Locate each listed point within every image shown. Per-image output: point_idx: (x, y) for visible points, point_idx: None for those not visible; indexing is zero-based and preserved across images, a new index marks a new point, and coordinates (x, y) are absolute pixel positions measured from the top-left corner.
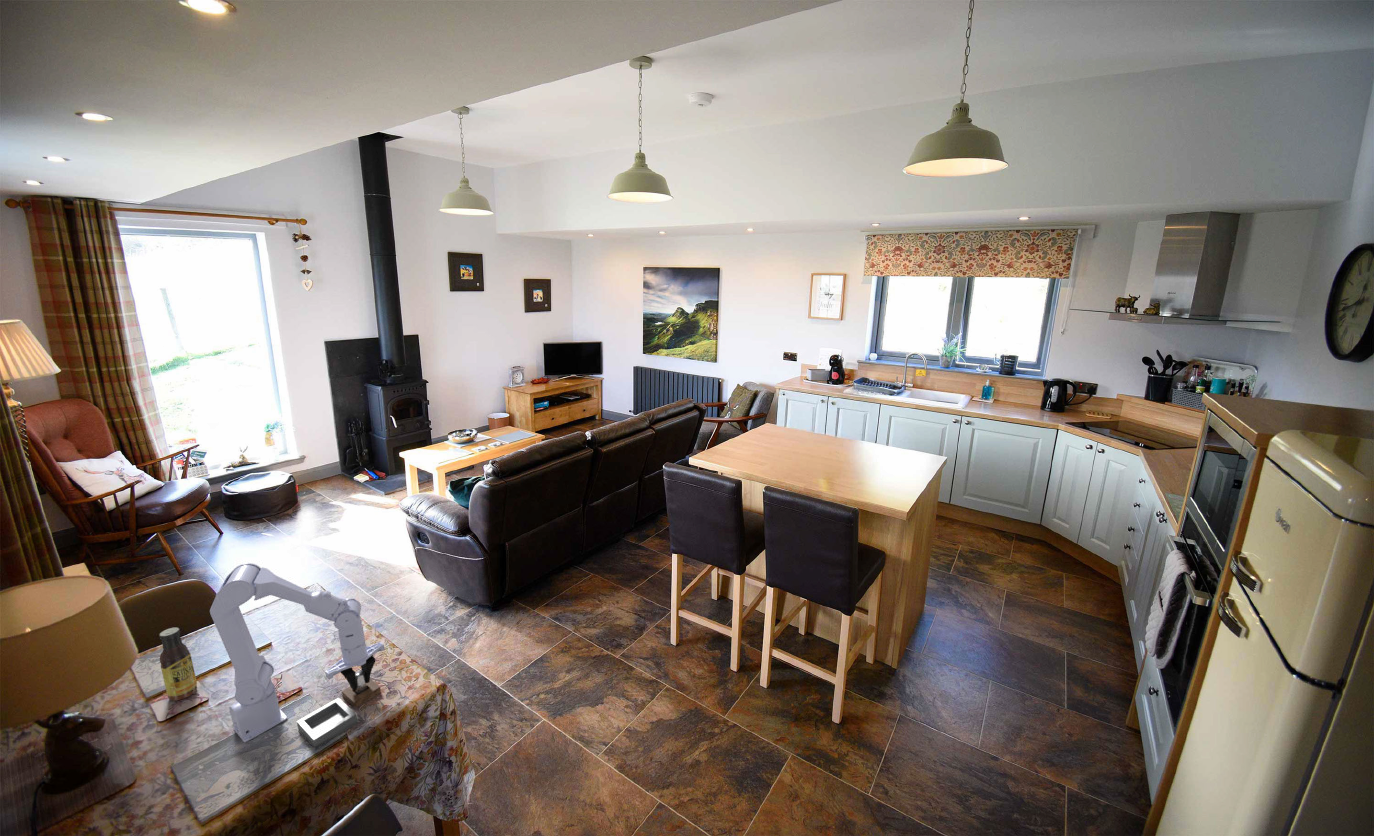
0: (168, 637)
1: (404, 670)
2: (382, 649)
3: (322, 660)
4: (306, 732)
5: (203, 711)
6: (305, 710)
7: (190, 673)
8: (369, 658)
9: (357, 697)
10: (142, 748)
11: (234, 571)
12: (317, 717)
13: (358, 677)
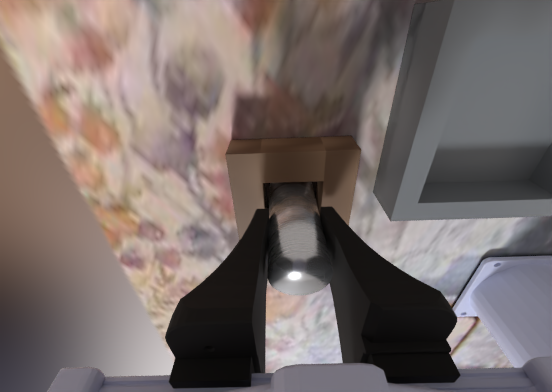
0: None
1: (109, 192)
2: (68, 387)
3: (292, 357)
4: None
5: (504, 367)
6: (434, 253)
7: None
8: (207, 357)
9: (331, 168)
10: None
11: None
12: (486, 186)
13: (314, 253)
